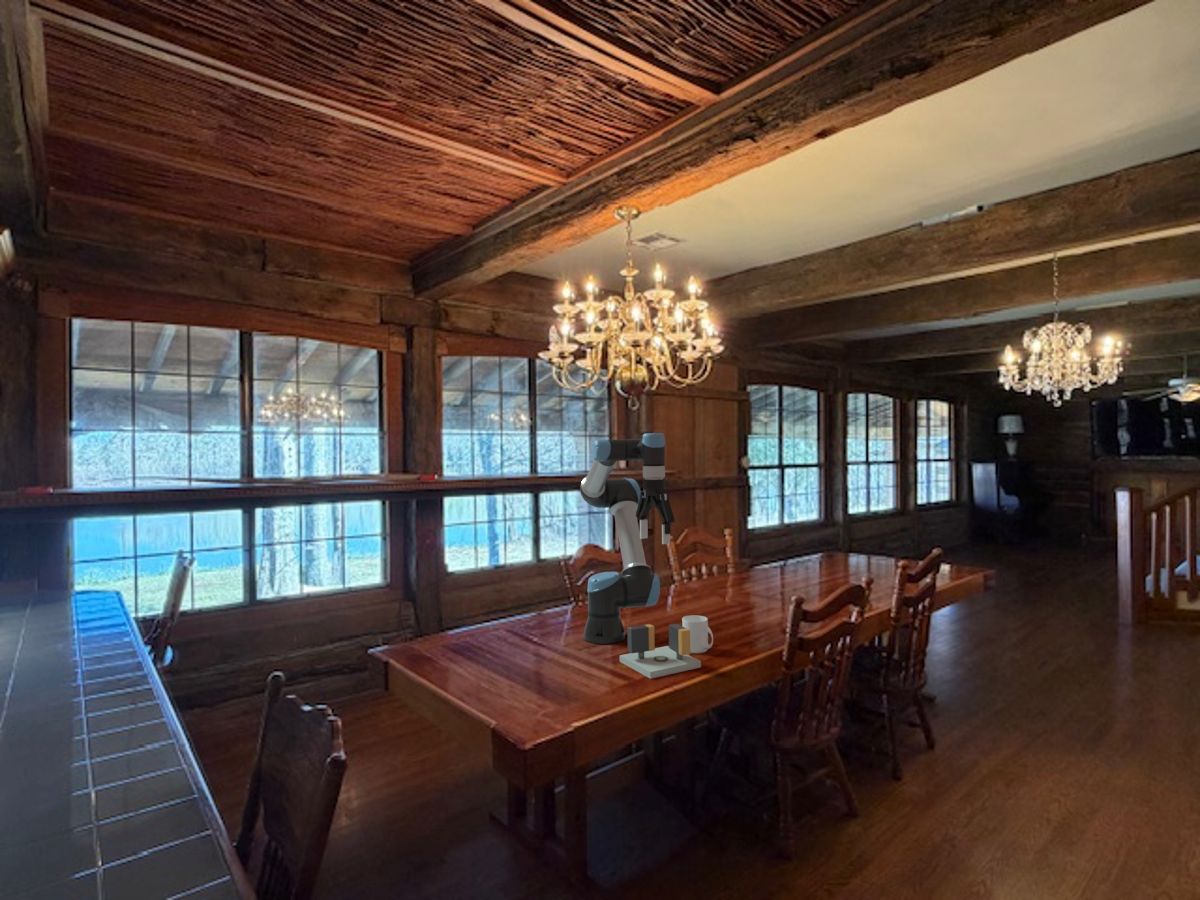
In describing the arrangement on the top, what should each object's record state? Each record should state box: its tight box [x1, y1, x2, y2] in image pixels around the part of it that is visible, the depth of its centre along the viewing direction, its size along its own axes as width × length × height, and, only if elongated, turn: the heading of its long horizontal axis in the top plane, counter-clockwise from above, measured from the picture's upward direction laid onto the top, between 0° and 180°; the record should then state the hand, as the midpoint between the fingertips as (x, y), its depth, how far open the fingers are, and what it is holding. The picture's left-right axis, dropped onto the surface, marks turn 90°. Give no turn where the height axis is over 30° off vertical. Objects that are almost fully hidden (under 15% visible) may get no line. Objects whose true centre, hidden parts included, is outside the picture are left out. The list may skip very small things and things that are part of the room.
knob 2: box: [668, 623, 692, 659], centre depth 202 cm, size 8×3×10 cm, turn 24°
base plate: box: [619, 645, 702, 680], centre depth 203 cm, size 18×19×3 cm
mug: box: [681, 615, 714, 654], centre depth 216 cm, size 9×12×11 cm
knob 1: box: [626, 623, 656, 659], centre depth 203 cm, size 8×3×10 cm, turn 112°
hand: (654, 541), depth 216 cm, fingers open, 13 cm apart
